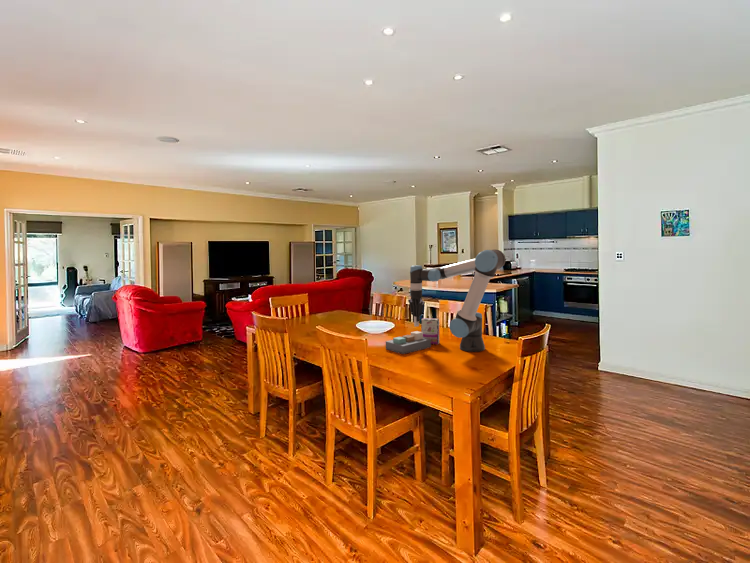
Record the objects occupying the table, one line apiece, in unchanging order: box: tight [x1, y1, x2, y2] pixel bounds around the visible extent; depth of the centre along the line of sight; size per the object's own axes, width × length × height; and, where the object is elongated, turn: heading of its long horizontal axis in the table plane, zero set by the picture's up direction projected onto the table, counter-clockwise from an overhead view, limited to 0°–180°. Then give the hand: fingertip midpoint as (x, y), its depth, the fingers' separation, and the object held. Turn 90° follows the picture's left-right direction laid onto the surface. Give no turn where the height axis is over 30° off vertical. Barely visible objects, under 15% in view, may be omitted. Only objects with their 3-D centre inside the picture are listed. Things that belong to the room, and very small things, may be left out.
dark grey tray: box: [385, 338, 432, 355], centre depth 255 cm, size 16×24×5 cm, turn 129°
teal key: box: [392, 336, 406, 344], centre depth 250 cm, size 6×6×4 cm
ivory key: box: [410, 330, 423, 340], centre depth 259 cm, size 6×6×4 cm
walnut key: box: [401, 334, 415, 342], centre depth 255 cm, size 6×6×4 cm
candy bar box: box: [420, 317, 440, 345], centre depth 266 cm, size 11×5×16 cm, turn 70°
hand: (416, 326), depth 259 cm, fingers closed
